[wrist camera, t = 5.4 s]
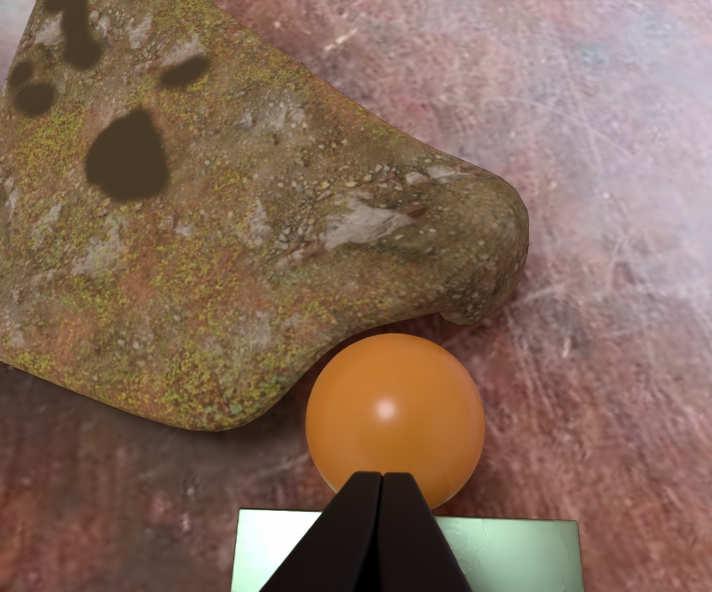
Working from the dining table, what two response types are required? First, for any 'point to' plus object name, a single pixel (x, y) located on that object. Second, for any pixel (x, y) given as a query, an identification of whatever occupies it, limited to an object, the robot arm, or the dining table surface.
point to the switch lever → (396, 415)
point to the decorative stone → (217, 214)
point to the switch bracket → (463, 533)
